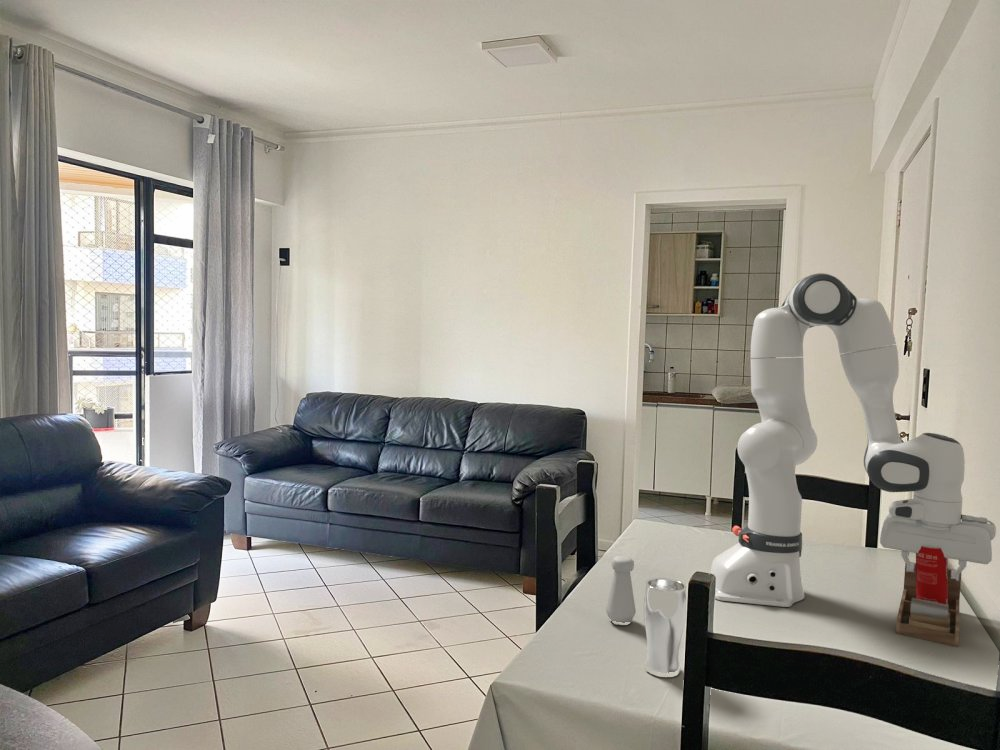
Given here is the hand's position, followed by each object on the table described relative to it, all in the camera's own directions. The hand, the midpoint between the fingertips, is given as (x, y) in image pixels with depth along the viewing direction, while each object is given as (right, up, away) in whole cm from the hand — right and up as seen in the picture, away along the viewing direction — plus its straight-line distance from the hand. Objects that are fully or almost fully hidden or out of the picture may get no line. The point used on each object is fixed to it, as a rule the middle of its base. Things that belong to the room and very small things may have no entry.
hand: (932, 575), depth 153 cm
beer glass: (-64, -8, -29) cm, 70 cm away
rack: (-3, -8, -4) cm, 10 cm away
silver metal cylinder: (-5, -9, -7) cm, 12 cm away
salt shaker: (-67, -7, -9) cm, 68 cm away
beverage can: (0, -8, +1) cm, 8 cm away
